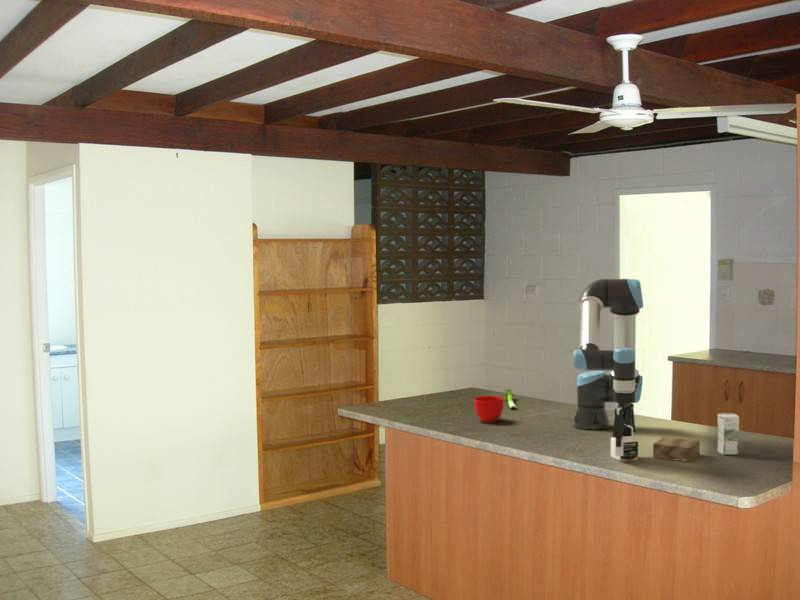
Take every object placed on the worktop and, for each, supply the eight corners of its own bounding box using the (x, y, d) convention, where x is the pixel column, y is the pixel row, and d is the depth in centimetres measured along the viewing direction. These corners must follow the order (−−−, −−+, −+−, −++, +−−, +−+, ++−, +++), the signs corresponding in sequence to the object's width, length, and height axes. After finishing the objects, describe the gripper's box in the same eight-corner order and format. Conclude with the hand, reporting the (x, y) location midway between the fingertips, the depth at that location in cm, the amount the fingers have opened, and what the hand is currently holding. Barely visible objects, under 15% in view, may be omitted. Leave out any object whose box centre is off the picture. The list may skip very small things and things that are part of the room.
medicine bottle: (620, 461, 303) (620, 428, 302) (610, 457, 310) (610, 424, 309) (638, 460, 305) (638, 426, 304) (627, 455, 311) (627, 423, 311)
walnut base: (653, 457, 308) (653, 443, 307) (663, 450, 319) (663, 436, 318) (689, 462, 301) (690, 448, 300) (699, 454, 311) (699, 440, 311)
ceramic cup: (503, 416, 386) (503, 394, 386) (504, 424, 370) (503, 401, 369) (474, 416, 388) (474, 394, 387) (474, 424, 371) (473, 401, 370)
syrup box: (732, 451, 315) (732, 412, 314) (739, 455, 309) (739, 415, 308) (716, 451, 315) (717, 412, 314) (723, 455, 309) (723, 416, 308)
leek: (506, 414, 401) (501, 398, 431) (521, 416, 401) (514, 399, 431) (508, 401, 401) (502, 386, 430) (522, 403, 400) (516, 388, 430)
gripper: (624, 396, 294) (624, 460, 296) (644, 387, 313) (644, 447, 314) (603, 395, 298) (603, 457, 300) (624, 385, 317) (624, 445, 318)
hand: (624, 452), depth 307 cm, fingers closed on medicine bottle, 10 cm apart
